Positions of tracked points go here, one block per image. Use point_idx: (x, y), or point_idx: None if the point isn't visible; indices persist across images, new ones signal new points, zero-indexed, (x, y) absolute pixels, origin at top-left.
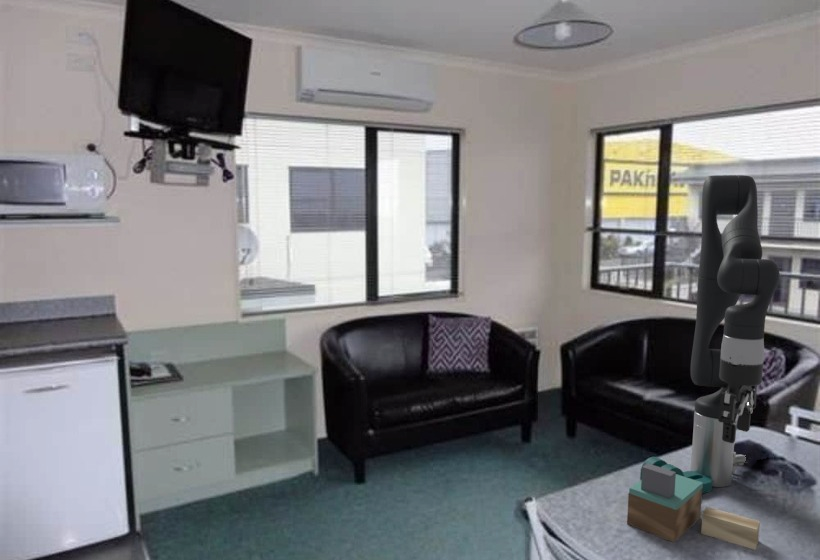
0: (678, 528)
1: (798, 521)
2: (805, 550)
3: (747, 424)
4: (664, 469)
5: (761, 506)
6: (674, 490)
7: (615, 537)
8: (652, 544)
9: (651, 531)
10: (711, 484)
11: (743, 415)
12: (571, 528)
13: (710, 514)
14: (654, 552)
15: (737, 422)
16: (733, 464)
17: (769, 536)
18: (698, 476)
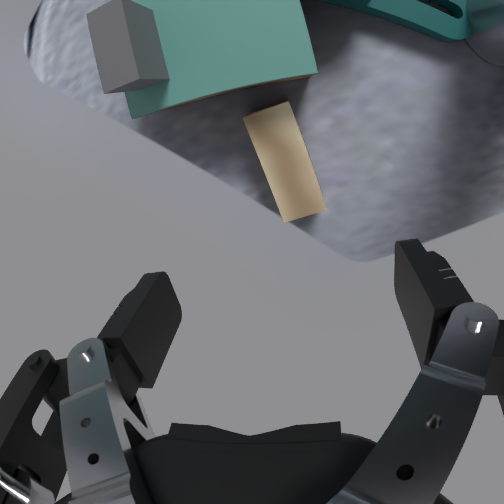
0: (180, 104)
1: (453, 209)
2: (357, 255)
3: (405, 314)
4: (124, 49)
5: (463, 141)
6: (162, 79)
7: None
8: None
9: None
10: (453, 40)
11: (424, 331)
12: (61, 10)
13: (258, 129)
14: (114, 116)
15: (409, 260)
16: None
17: (357, 199)
18: (458, 8)
